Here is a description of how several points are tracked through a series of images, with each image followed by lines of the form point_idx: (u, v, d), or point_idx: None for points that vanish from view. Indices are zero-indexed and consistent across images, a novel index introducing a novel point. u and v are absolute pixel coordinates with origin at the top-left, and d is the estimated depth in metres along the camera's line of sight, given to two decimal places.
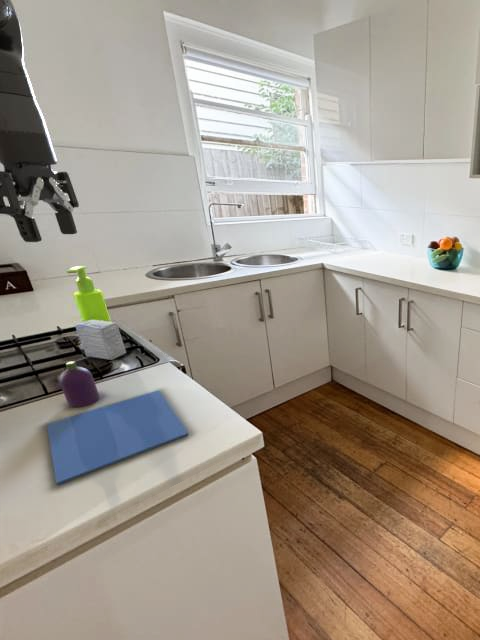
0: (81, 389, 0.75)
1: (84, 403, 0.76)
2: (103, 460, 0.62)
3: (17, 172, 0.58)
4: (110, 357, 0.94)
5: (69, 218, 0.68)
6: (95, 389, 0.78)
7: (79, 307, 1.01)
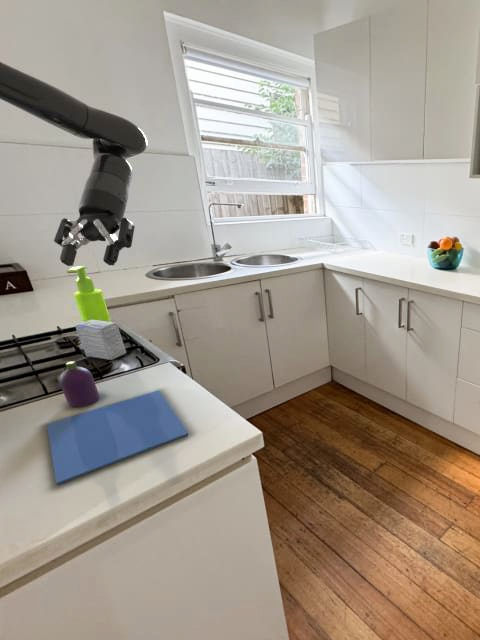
0: (81, 389, 0.75)
1: (84, 403, 0.76)
2: (103, 460, 0.62)
3: None
4: (110, 357, 0.94)
5: (75, 255, 0.81)
6: (95, 389, 0.78)
7: (79, 307, 1.01)
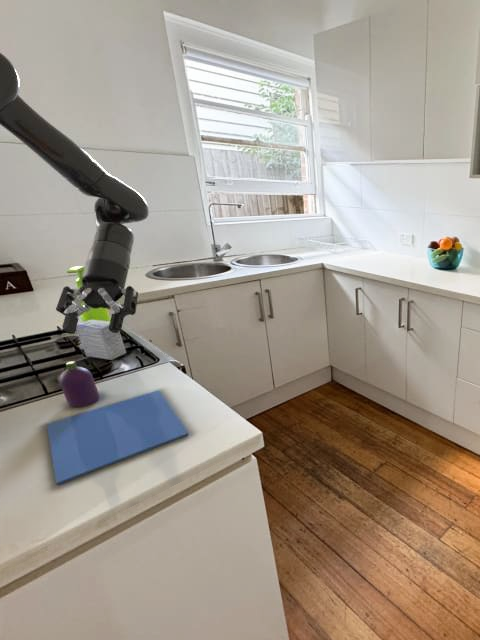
0: (81, 389, 0.75)
1: (84, 403, 0.76)
2: (103, 460, 0.62)
3: None
4: (110, 357, 0.94)
5: (77, 322, 0.82)
6: (95, 389, 0.78)
7: None
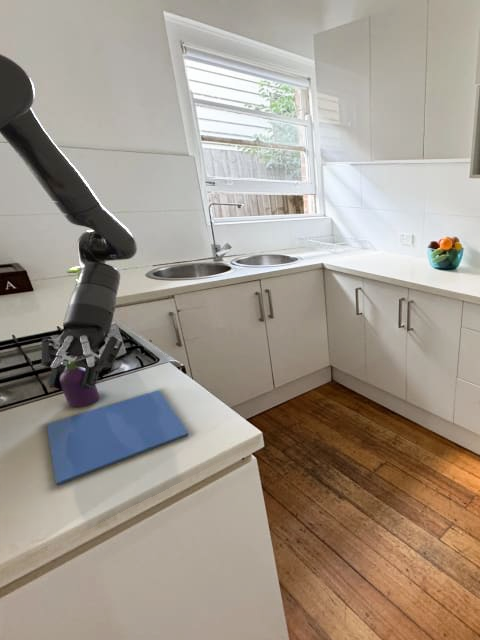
0: (81, 389, 0.75)
1: (84, 403, 0.76)
2: (103, 460, 0.62)
3: None
4: None
5: None
6: (95, 389, 0.78)
7: None
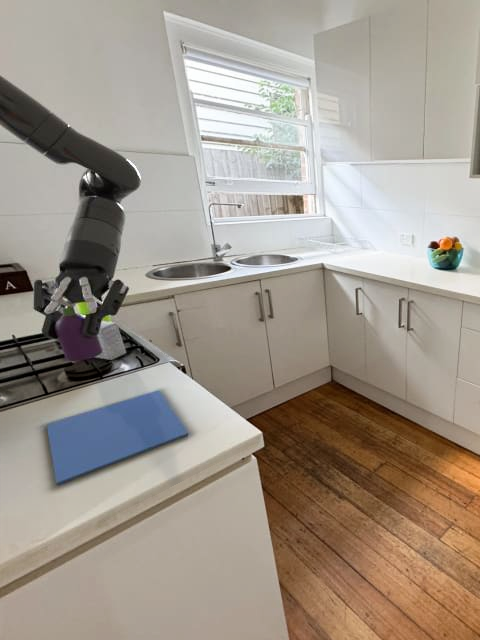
0: (81, 339, 0.63)
1: (84, 356, 0.64)
2: (103, 460, 0.62)
3: None
4: (110, 357, 0.94)
5: None
6: (97, 341, 0.66)
7: (79, 307, 1.01)
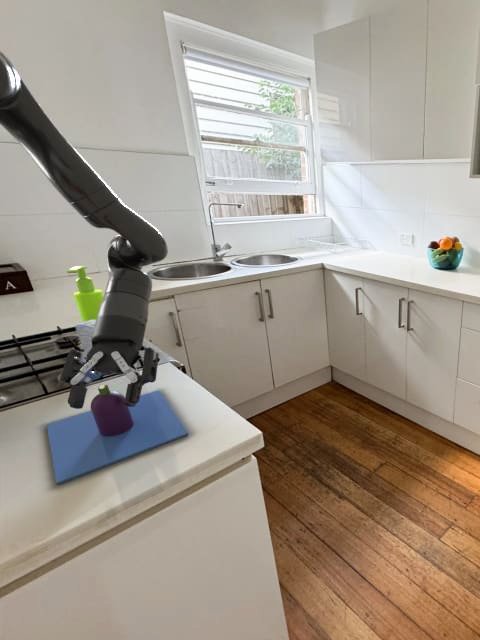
0: (115, 416, 0.66)
1: (118, 432, 0.67)
2: (103, 460, 0.62)
3: None
4: None
5: (85, 393, 0.67)
6: (129, 415, 0.69)
7: (79, 307, 1.01)
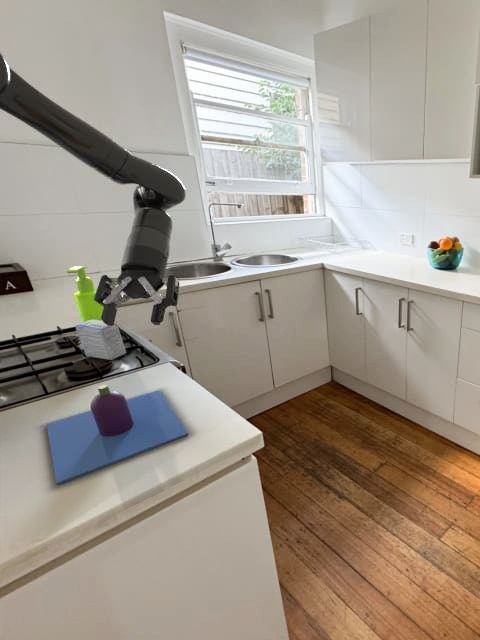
0: (115, 416, 0.66)
1: (118, 432, 0.67)
2: (103, 460, 0.62)
3: None
4: (110, 357, 0.94)
5: (115, 313, 0.76)
6: (129, 415, 0.69)
7: (79, 307, 1.01)
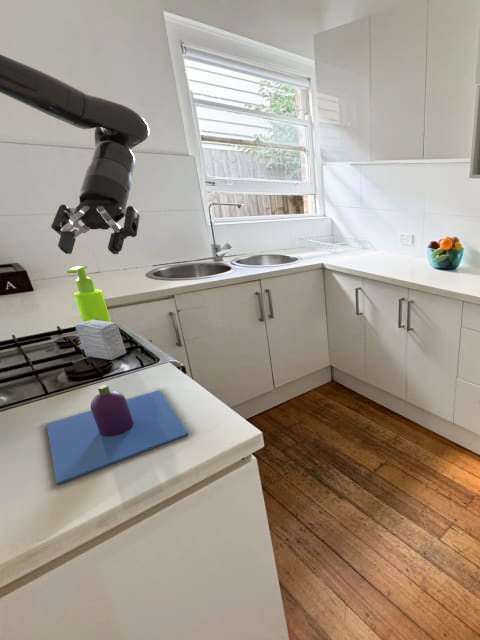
0: (115, 416, 0.66)
1: (118, 432, 0.67)
2: (103, 460, 0.62)
3: None
4: (110, 357, 0.94)
5: (74, 243, 0.76)
6: (129, 415, 0.69)
7: (79, 307, 1.01)
